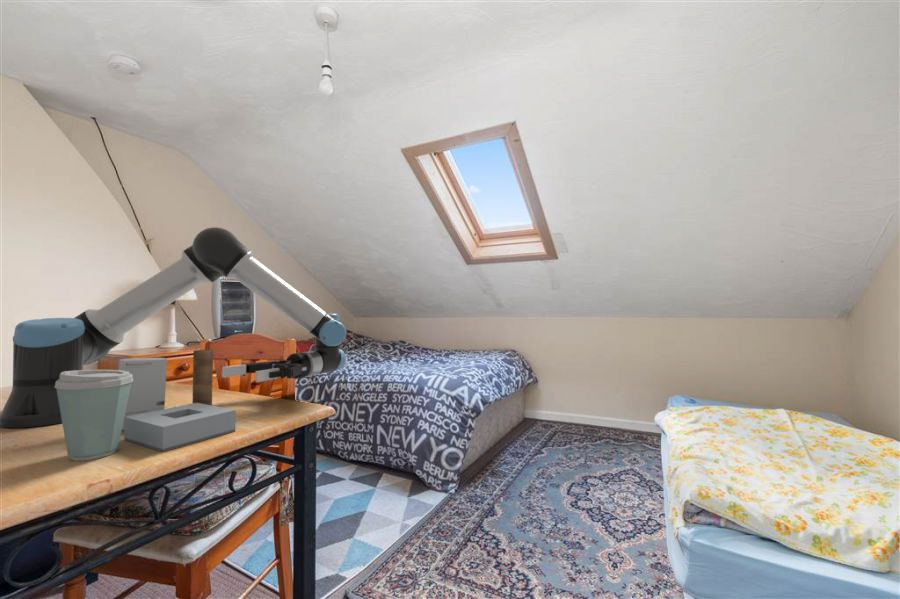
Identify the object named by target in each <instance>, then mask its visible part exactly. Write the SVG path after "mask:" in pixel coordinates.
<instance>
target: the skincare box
mask: <svg viewBox="0 0 900 599" xmlns="http://www.w3.org/2000/svg"><path fill="white" fill-rule="evenodd" d="M167 365H168V359H167V358H165V357H138V358H123V359H122V358H120V359H118V370H122V371H127V372H129V374H132V377H133V381H132V382H131V386H130V391H129V396H128V401H127V406H126V410H125V415H124V420H123V425H122V430H121V432H122V431H124V423H125V417H127V416H132V415H137V414H142V413H147V412H152V411H157V410H162V409H166V408H165V406H166V403H165V402H166V386H167Z"/></svg>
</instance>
